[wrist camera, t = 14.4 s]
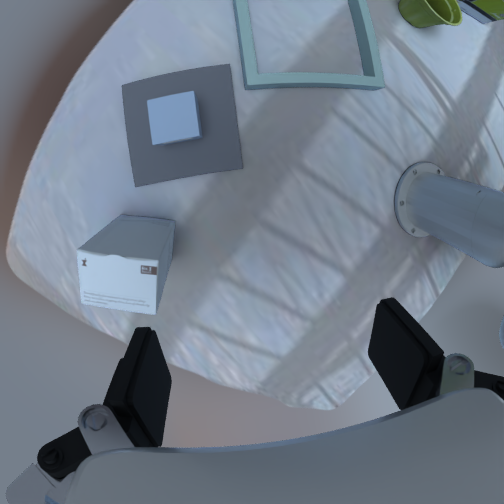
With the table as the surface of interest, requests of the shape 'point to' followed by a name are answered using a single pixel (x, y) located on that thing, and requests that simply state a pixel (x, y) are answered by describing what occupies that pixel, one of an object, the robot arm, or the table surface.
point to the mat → (187, 152)
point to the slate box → (174, 118)
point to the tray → (301, 79)
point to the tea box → (483, 9)
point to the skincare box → (127, 264)
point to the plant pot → (431, 12)
